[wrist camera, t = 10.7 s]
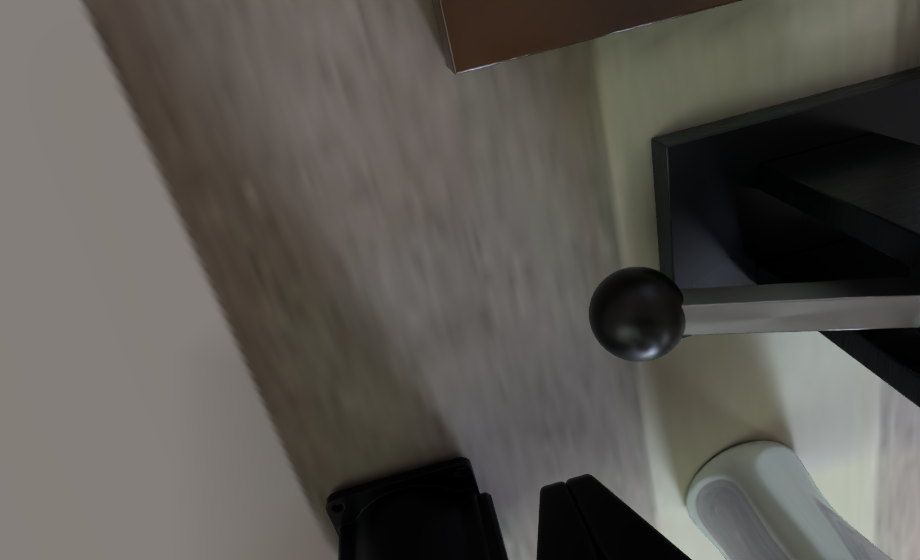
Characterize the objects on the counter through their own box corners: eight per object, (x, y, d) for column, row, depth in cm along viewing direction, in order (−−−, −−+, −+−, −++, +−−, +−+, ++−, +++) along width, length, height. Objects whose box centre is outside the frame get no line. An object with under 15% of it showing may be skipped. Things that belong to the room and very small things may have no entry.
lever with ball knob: (597, 327, 21) (591, 381, 19) (587, 253, 20) (580, 302, 17) (1010, 312, 17) (1071, 377, 15) (1033, 219, 16) (1105, 275, 14)
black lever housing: (663, 324, 25) (829, 509, 16) (650, 138, 21) (858, 247, 12) (910, 255, 25) (1203, 398, 16) (941, 60, 21) (1339, 112, 13)
